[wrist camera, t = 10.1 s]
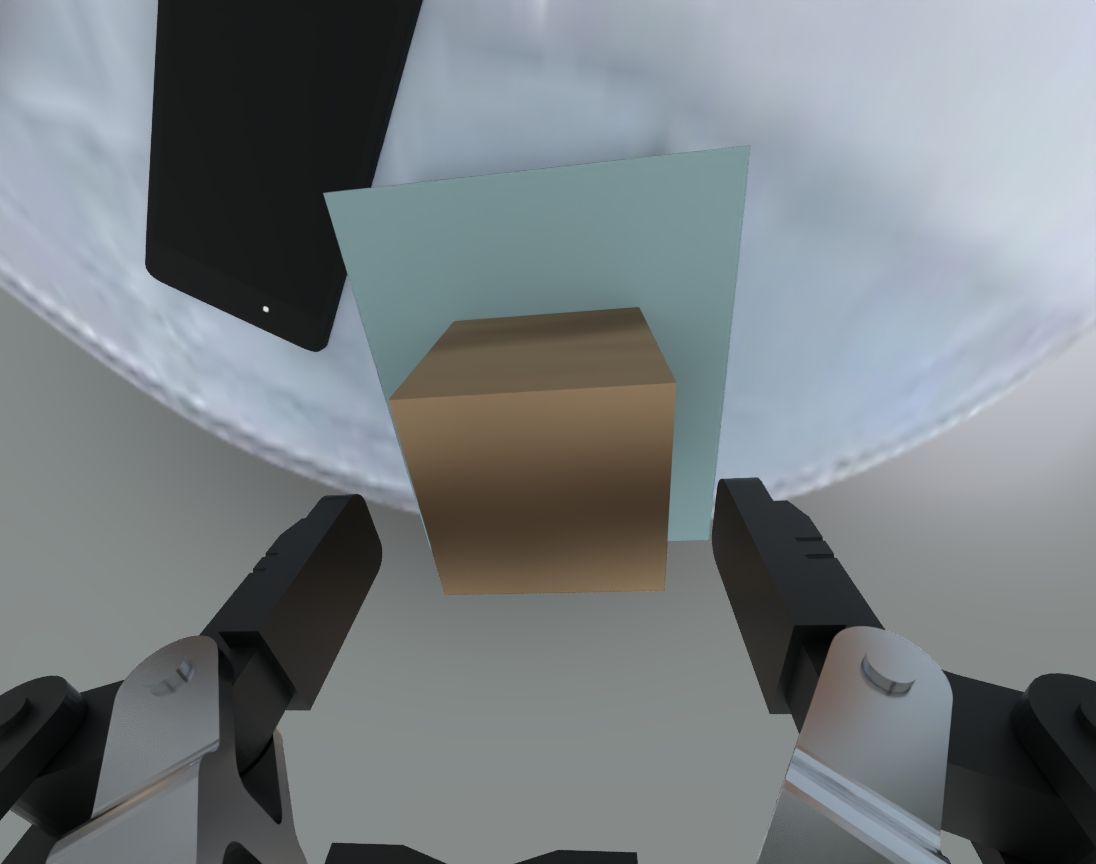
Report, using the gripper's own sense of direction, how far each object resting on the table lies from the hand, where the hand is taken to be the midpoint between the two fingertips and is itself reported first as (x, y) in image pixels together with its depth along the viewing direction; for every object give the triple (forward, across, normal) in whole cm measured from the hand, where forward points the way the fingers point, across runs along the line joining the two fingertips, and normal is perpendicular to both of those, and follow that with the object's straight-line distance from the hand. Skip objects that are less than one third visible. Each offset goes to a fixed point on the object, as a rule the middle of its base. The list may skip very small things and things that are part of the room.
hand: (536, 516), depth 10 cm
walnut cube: (+6, 0, 0) cm, 7 cm away
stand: (+14, 0, 0) cm, 15 cm away
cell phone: (+15, +12, -10) cm, 21 cm away
